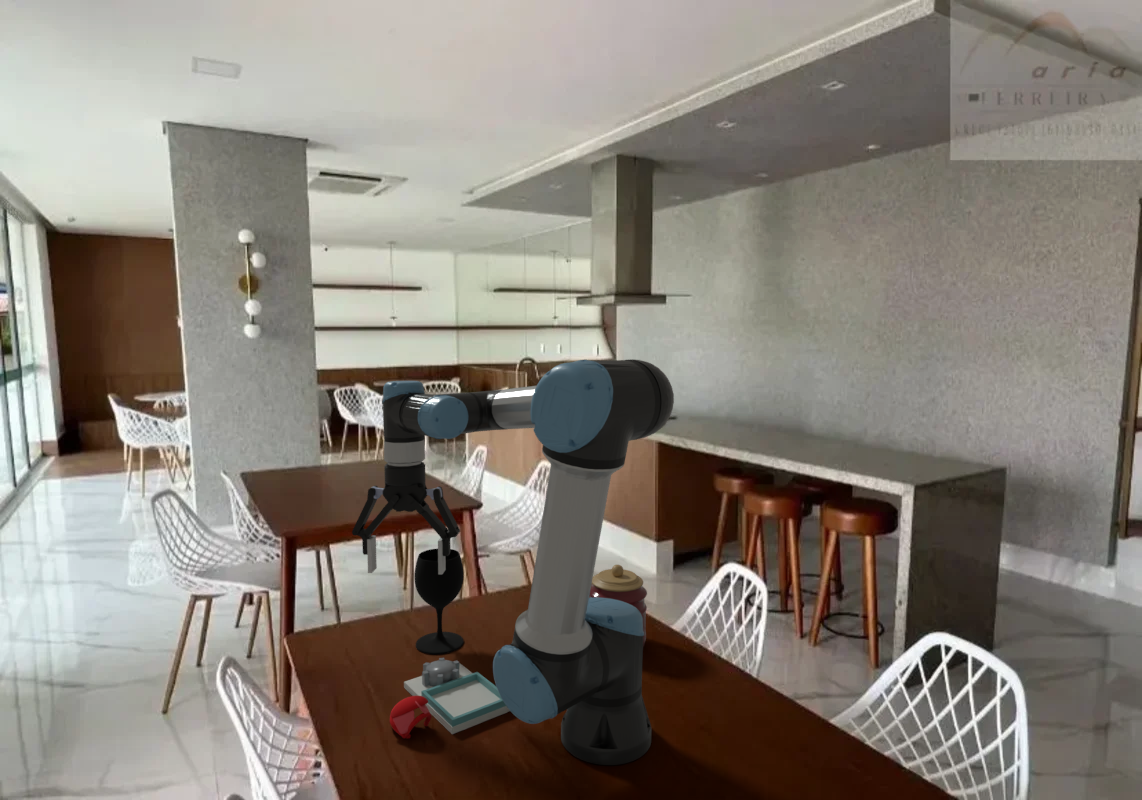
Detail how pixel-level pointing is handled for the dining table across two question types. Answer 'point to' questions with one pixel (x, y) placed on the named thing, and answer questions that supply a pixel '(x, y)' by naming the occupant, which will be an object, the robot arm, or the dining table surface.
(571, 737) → the robot arm
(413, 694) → the carrier board
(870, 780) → the dining table surface
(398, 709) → the cap
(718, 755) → the dining table surface
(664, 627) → the dining table surface
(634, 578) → the canister
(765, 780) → the dining table surface
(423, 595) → the wine glass
